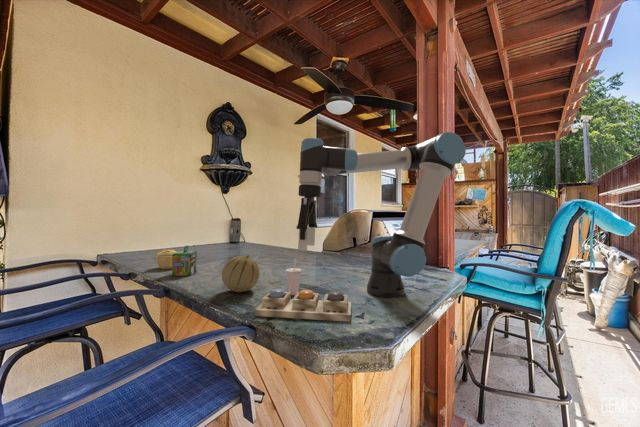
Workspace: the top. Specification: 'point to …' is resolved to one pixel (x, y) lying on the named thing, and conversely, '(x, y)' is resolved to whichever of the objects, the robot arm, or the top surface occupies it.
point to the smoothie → (293, 279)
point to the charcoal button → (335, 296)
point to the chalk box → (184, 263)
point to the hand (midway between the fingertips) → (306, 247)
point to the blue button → (277, 293)
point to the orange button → (306, 294)
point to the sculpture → (165, 259)
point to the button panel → (305, 308)
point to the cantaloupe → (240, 274)
